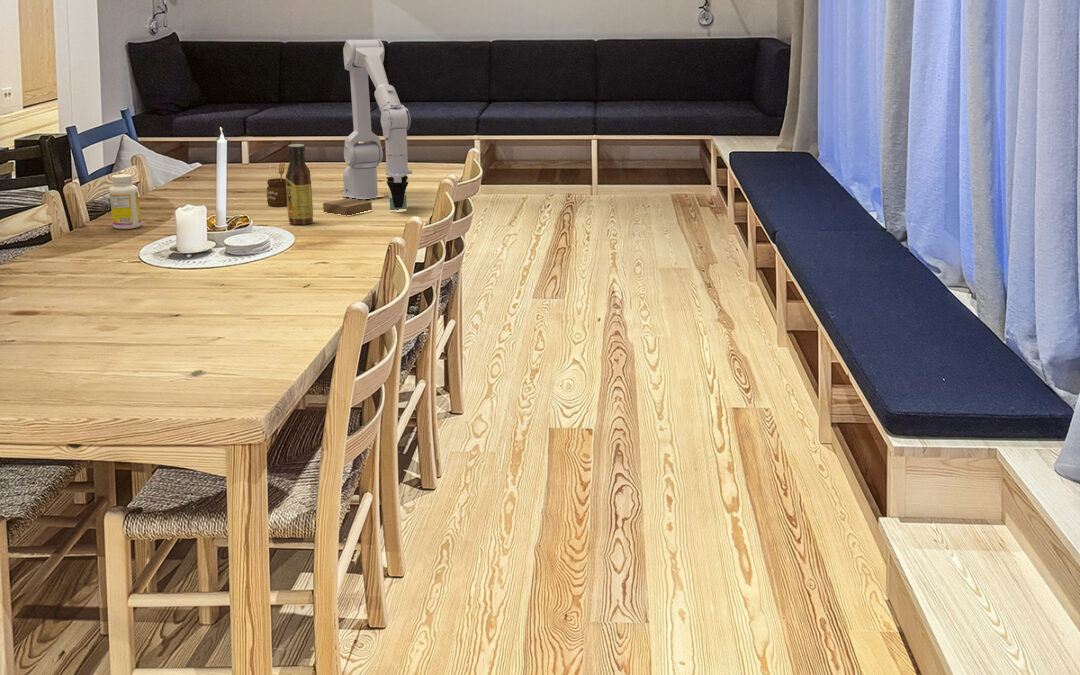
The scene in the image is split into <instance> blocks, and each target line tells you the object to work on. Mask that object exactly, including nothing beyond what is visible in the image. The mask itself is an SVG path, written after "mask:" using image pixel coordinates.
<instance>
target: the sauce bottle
mask: <svg viewBox="0 0 1080 675" xmlns="http://www.w3.org/2000/svg"><path fill="white" fill-rule="evenodd" d="M305 147H306V146H305V144H304V143H303V144H302V143H292V144H288V146H287V150H288V154H289V157H288V158H289V163H288V168H287V170H286V174H285V179H286V193H287V217H288V222H289V223H290V224H291V225H296V226H297V225H300V226H301V225H302V226H303V225H309V224H312V223H313V221H314V208H313V207H314V206H313V191H312V190H313V189H312V181H311V171H310V168H309V167H308V166H307V164H306V159H305V152H306V148H305Z"/></svg>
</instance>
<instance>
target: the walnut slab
mask: <svg viewBox="0 0 1080 675" xmlns="http://www.w3.org/2000/svg"><path fill="white" fill-rule="evenodd" d="M322 206H323V213H324V212H327V213H326V214H329V213H334V214H341V215H346V216H347V215H352V214H356V213H360V212H364V211H368V210H372V211H373V208H372V207H373V206H372V201H369V200H358V199H352V198H342V199H337V200H332V201H327V202H323V203H322ZM334 214H333V215H334ZM346 216H345V217H346Z"/></svg>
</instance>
